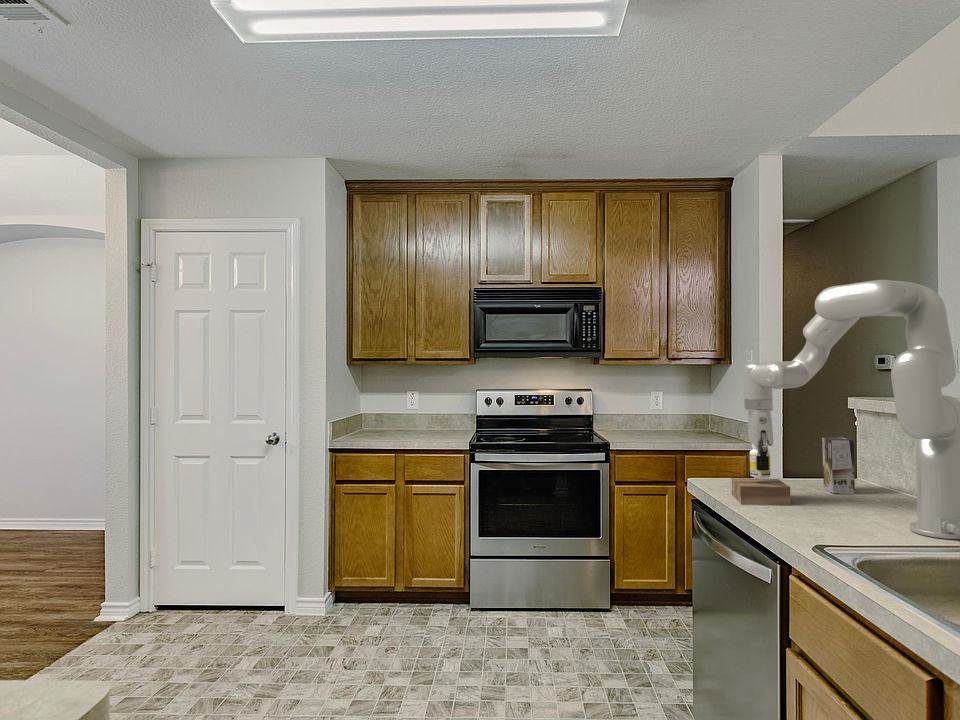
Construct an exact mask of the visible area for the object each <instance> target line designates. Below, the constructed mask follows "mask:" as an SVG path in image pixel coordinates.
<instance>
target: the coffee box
mask: <svg viewBox="0 0 960 720" xmlns="http://www.w3.org/2000/svg"><path fill="white" fill-rule="evenodd" d="M821 438H822V439H821V440H822V445H821V446H822V469H823V470H822V472H823V473H822V475H823V478H822V479H823V489H824V488H825V490H826V489H827V490H826V491H828V490H829V491H828V492H830V493H831V492H832V494H834V493H839V494H840V495H841V494H842V495H855V494H856V492H855V491H856V490H855V482H856V481H855V480H856V479H855V439H852V438H847V437H845V436H829V437H828V436H827V437H825V436H823V437H821Z"/></svg>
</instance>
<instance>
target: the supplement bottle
mask: <svg viewBox="0 0 960 720" xmlns="http://www.w3.org/2000/svg"><path fill="white" fill-rule="evenodd" d="M751 445H752V448H753V450H750V451H749V475H750V477H751V478H755V479H769V478H770V477H771V454H770V451H769V450H768V454H769V470H768V471H764V470H757V466H756V456H758V455H757V446H756V445H754V444H752V443H751ZM759 445H762V443H759ZM760 449H761V448H760Z"/></svg>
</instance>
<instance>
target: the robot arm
mask: <svg viewBox="0 0 960 720" xmlns="http://www.w3.org/2000/svg"><path fill="white" fill-rule="evenodd" d="M814 309H815V312H816V314H815V315H814V316H813V317H812V318H811V319H810V320H809V321H808V322H807V323H806V324H805V326H804V327H803V329H802V334H803V336H804V337H805V339H806V341H805V345H804V346H803V348H802V350H801V351H800V352H799V353H798V354H797V355H796V356H795V357H794V358H793V359H792V360H791V361H790V360H789V361H773V362H753V363H752V362H749V363H746V364H744V366H743V401H744V402H743V403H744V404H743V405H744V411H745V412H747V433H748V434H747V436H748V437H747V438H748V442H749V443H751V445H750V446H751V450H753V448H752V444H754V445H756V446H757V455H758V456H756V466H757V470H764V471H768V470H769V454H768V451H769V447H773V446H774V432H773V421H772V420H773V419H772V413H771V412H773V410H774V409H773V408H774V407H773V406H774V405H773V403H774V402H773V389H774V390H783V389H784V390H785V389H796V388H797V389H798V388H800V387H802V386H804V385H806V384H807V383H808V382H810V380H812V378H814V377H815V376H816V374H817V373H818V372H819V371H820V370H821V369H822V368H823V367H824V365H825V364H826V362H827V360H828V358H829V355H830V353H831V349H832V348H833V347H834V345H836V343H837V342H839V341H840V339H841V338H842V337H843V336H845V334H847V332H848V331H849V330H850V329H851V328H852V327H853V326H854V325H855V324H856V323H857V321H859V320H860V318H868V317H902V318H904V319H905V320H906V324H905V332H904V333H905V334H904V335H905V340H906V346H907V350H905V351H903V352H901V353H900V354H898V356H897V357H895V359H894V361H893V364H892V365H891V370H890V378H891V379H890V380H891V386H892V392H893V398H894V406H895V413H896V418H897V421H898V423H899V426H900V428H901V429H902V430H903V432H904V433H905V434H906V435H908V436H909V437H911V438H913V439H916V440H917V443H916V450H915V471H916V475H915V476H916V477H915V479H916V515H917V517H916V518H917V521H912V522H910V523H909V530H910V531H912V532H913V533H915V534H919V535H923V536H926V537H931V538H937V539H947V540H960V400H959V399H957V398H956V397H953V396H950V395H946V394H942V389H944V388H946V387H948V386H950V385H951V384H952V383H953V382H954V380H955V378H956V376H957V365H956V362H955V355H954V350H953V343H952V338H951V332H950V328H949V327H950V326H949V321H948V315H947V314H948V313H947V309H946V306H945V303H944V300H943V299H942V297H941V296H940V295H939V294H938V293H937V292H936V291H935V290H933V289H932V288H930V287H928V286H925V285H922V284H918V283H915V282H909V281H902V280H889V279H875V280H874V279H873V280H867V281H861V282H855V283H849V284H841V285H833V286H829V287H827V288H824V289H823V290H821V292H819V294H817V296H816V298H815V301H814ZM759 443H762V445H759ZM760 448H761V449H760ZM751 450H750V451H751Z"/></svg>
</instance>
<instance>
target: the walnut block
mask: <svg viewBox="0 0 960 720" xmlns="http://www.w3.org/2000/svg"><path fill="white" fill-rule="evenodd" d="M732 495H733V496H734V497H735V498H736V499H737V500H738V501H739V502H740V503H741V504H740V503H739V502H738V501H737V500H736V499H735V498H734V497H733V498H734V499H735V500H736V501H737V502H738V503H739V504H740V505H746V504H761V505H760V506H791V505H792V503H791V502H792V501H791V496H792V495H791V486H789V485H788V484H787V483H785V482H783V481H782V480H780V479H779V478H748V477H747V478H745V477H744V478H742V477H741V478H739V477H736V478H735V477H732V478H731V496H732Z"/></svg>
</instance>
